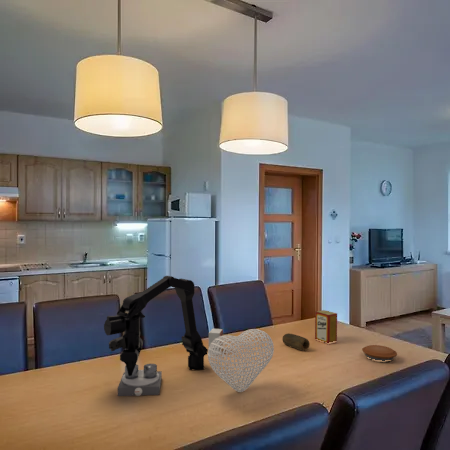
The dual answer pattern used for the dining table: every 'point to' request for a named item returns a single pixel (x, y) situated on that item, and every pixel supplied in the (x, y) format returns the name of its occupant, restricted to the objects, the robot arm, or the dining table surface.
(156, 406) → the dining table surface
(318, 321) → the baking soda box
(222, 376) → the heart
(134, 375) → the cylinder
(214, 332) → the small box
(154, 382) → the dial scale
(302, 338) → the stone weight
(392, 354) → the pie
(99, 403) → the dining table surface
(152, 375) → the cylinder
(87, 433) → the dining table surface
